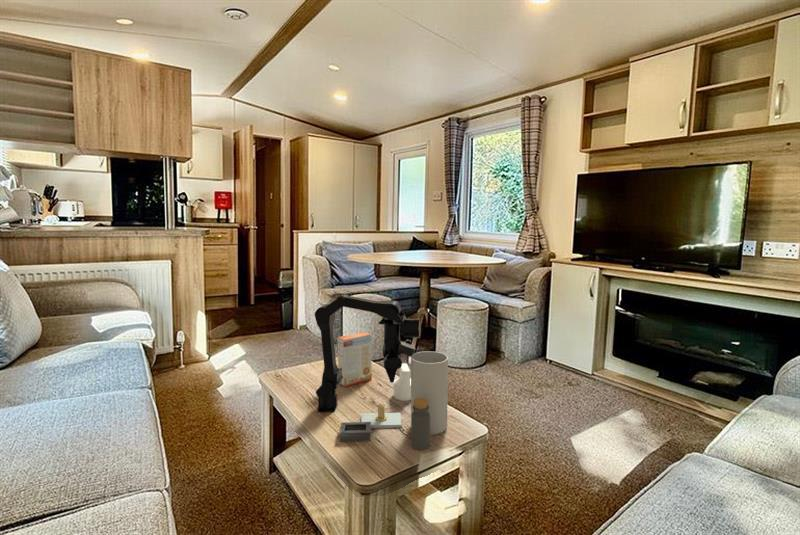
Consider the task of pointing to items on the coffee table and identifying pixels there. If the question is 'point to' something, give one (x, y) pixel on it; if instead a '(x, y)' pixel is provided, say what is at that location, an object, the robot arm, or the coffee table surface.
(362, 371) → the cracker box
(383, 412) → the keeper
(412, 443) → the bottle
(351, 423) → the link
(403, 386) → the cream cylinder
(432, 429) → the cylinder vase
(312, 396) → the coffee table surface
